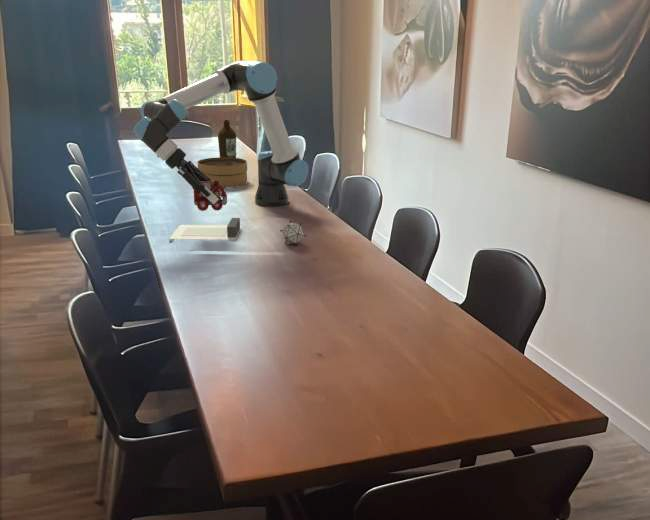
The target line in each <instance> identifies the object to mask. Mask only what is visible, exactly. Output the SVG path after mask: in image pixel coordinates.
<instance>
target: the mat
mask: <svg viewBox="0 0 650 520" xmlns="http://www.w3.org/2000/svg"><path fill="white" fill-rule="evenodd" d="M227 226H228V224H227V225H226V224H225V225H222V224H221V225H219V224H218V225H216V224H214V225H213V224H179V226H177V228H176V230H174V232H173V233H172V235H171V236H170V237H169V238H168V242H169V241H171V242H173V243H174V241H175V240H200V241H201V240H204V241H205V240H206V241H207V240H210V241H236V239H237V237H238V235H239V233H240V231H241V229H242V225H240V229H239V231H238V233H237V236H236V237H227ZM171 242H170V243H171Z"/></svg>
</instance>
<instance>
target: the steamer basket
mask: <svg viewBox="0 0 650 520" xmlns="http://www.w3.org/2000/svg"><path fill="white" fill-rule="evenodd" d="M247 161H248V160H246V159H244V158H239V157H236V158H227V157H220V156H219V157H209V158H202V159H200V160H198V161H197V162H196V163H197V168H198V169H199V170H200V171H201V172H203V173H204V174H205V175H206V176H207V177H208V178H210V179H211V180H210V181H211V182H212V184H213V182H214V181H215V180H217V181H218V182H219V185H221V186H222V187H233V188H238V187H237V186H239V187H243V186H246V185H247V184H248V162H247ZM246 183H247V184H246Z"/></svg>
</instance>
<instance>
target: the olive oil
mask: <svg viewBox="0 0 650 520" xmlns="http://www.w3.org/2000/svg"><path fill="white" fill-rule="evenodd" d="M230 122H231V121H230V119H228V118H224V119H223V127H221V129H220V130H219V132H218V133H217V139H218V151H219V158H220V157H227V158H237V133H236V131H235V130H234V129H233V128H232V127H231V125H230Z"/></svg>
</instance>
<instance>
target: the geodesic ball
mask: <svg viewBox="0 0 650 520" xmlns="http://www.w3.org/2000/svg"><path fill="white" fill-rule="evenodd" d="M301 225H302V222H300V223H294V222H291V220H289V223H288V224H287V225H286V226H285V227H284V228H283V229H280V230H279V232H282V235H283V237H284V240H285V242H284V243H285V244H287V243H290V244H295V246H296V247H297V246H298V243H299V242H300V241H301V240H302V239H303V238H304V237H307V235H306V234H305V233H304V230H303V228H302V226H301Z"/></svg>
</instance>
